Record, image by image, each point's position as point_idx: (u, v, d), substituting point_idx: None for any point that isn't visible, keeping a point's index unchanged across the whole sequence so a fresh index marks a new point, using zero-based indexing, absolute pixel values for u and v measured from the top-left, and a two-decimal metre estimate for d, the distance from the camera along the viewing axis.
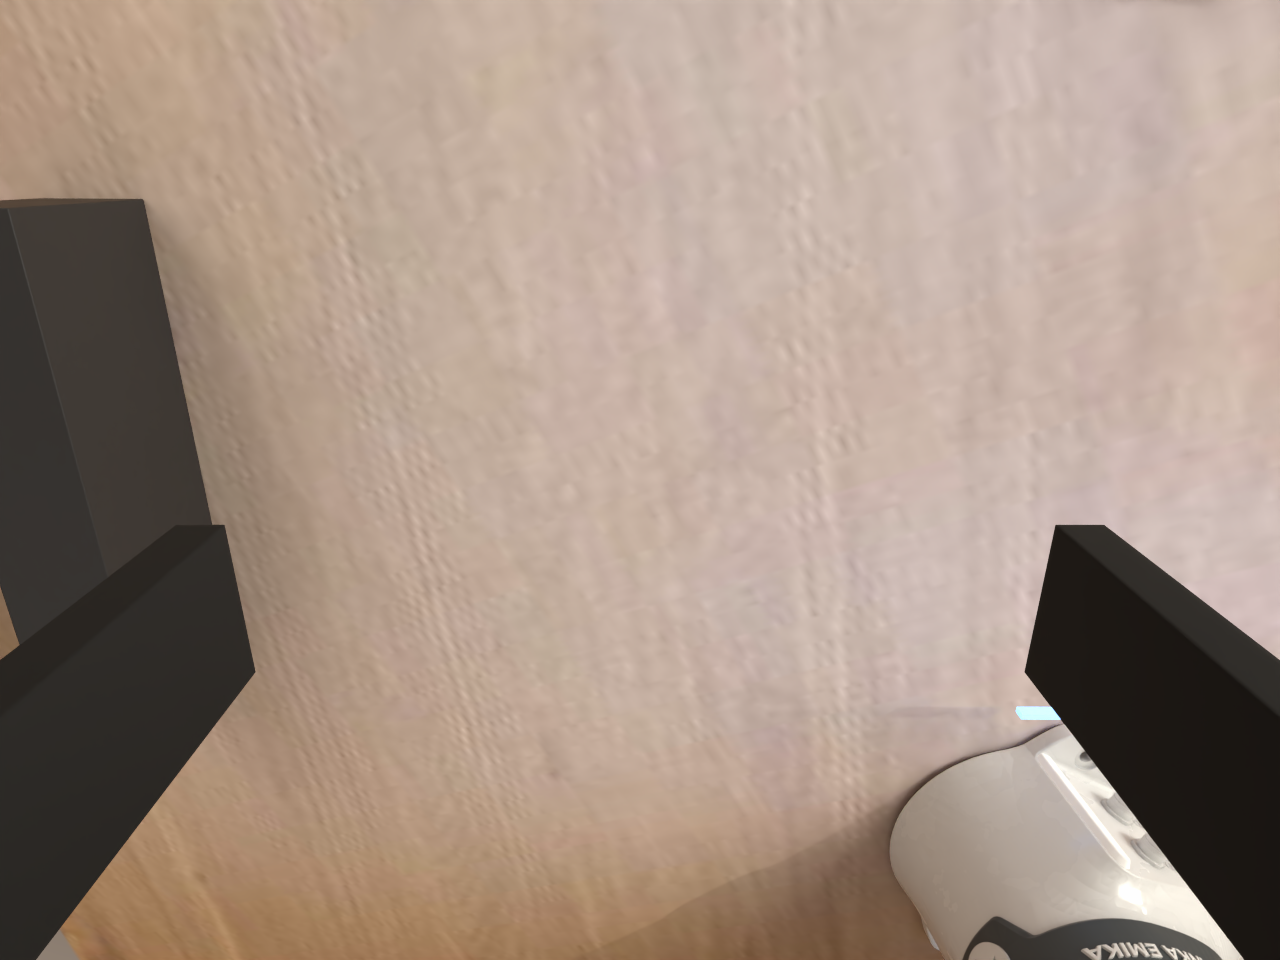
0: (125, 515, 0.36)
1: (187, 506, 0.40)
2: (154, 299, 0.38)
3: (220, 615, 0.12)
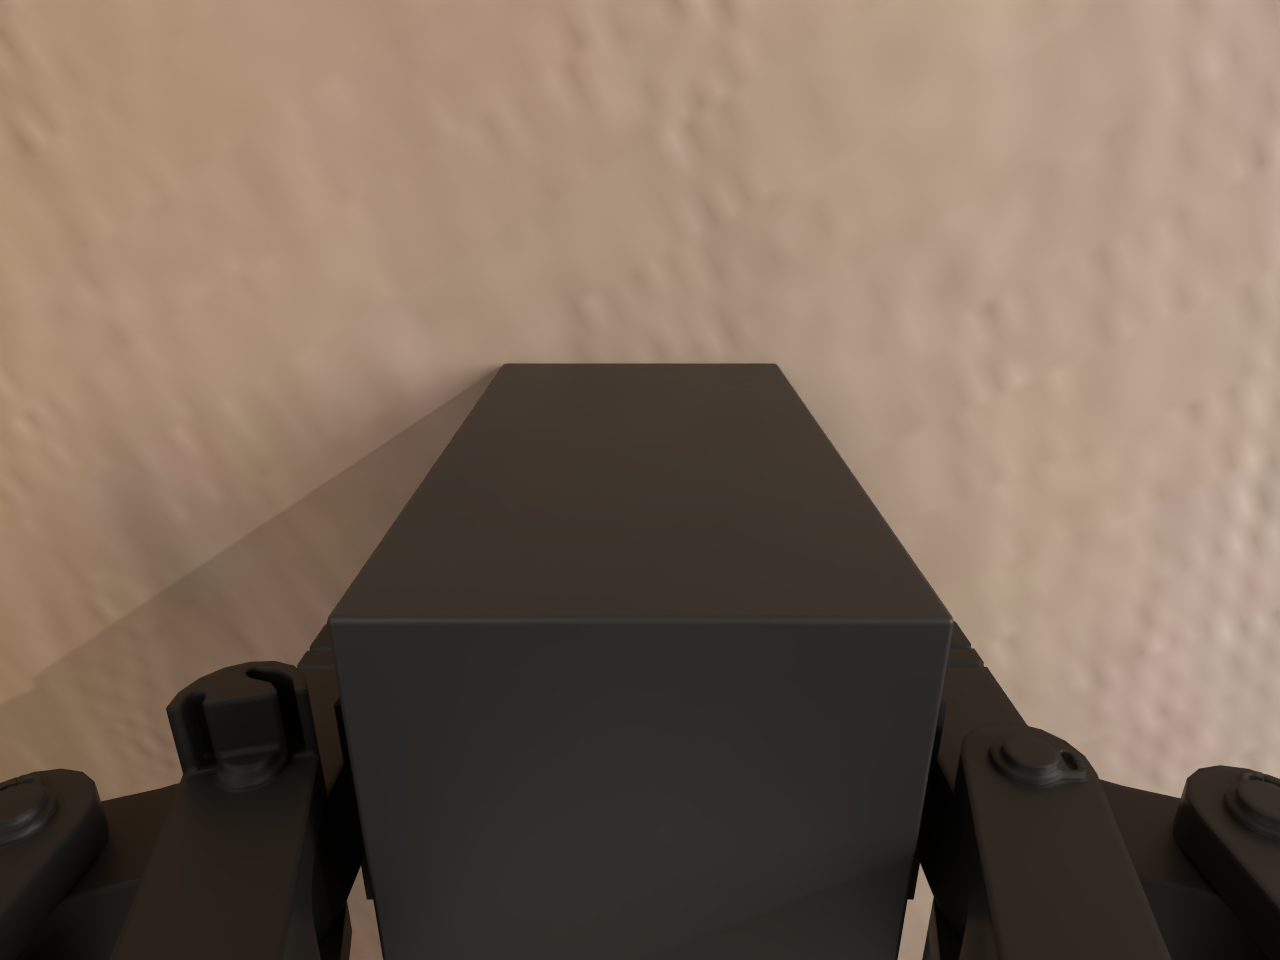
0: None
1: None
2: None
3: None
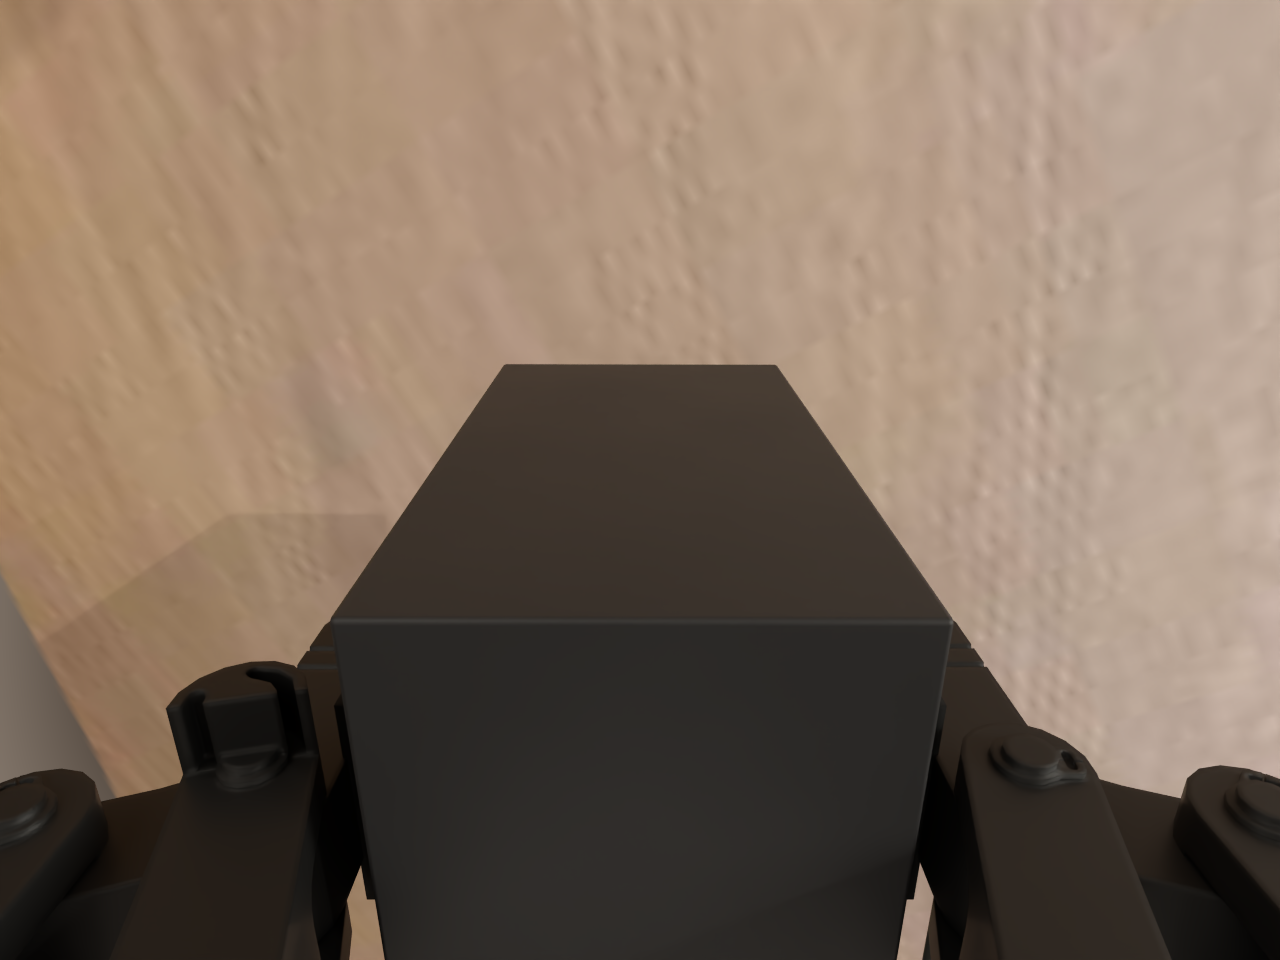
0: None
1: None
2: None
3: None
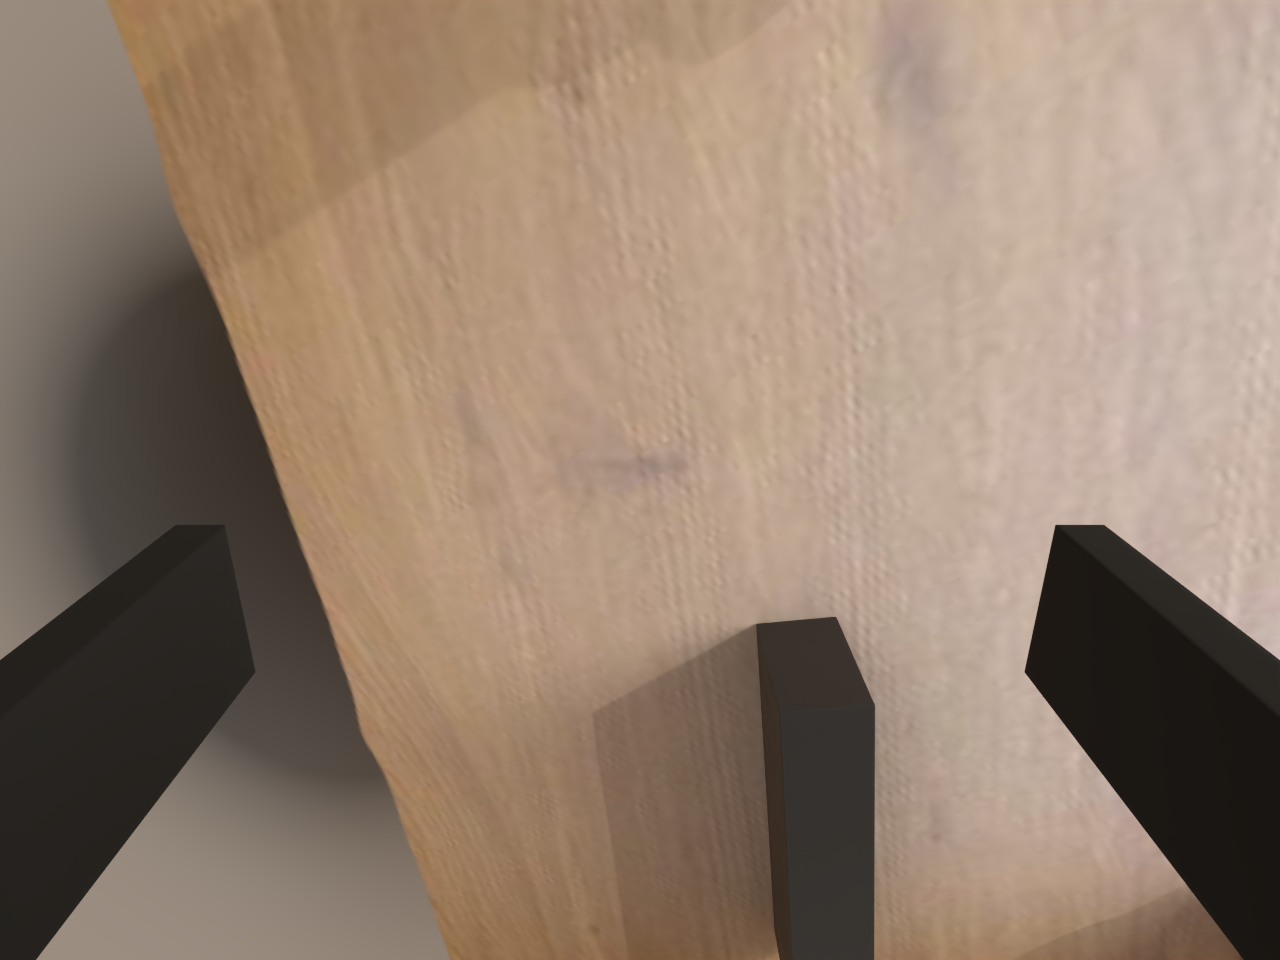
0: None
1: None
2: None
3: (220, 615, 0.12)
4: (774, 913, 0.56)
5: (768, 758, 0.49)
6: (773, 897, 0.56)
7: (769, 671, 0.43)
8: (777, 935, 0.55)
